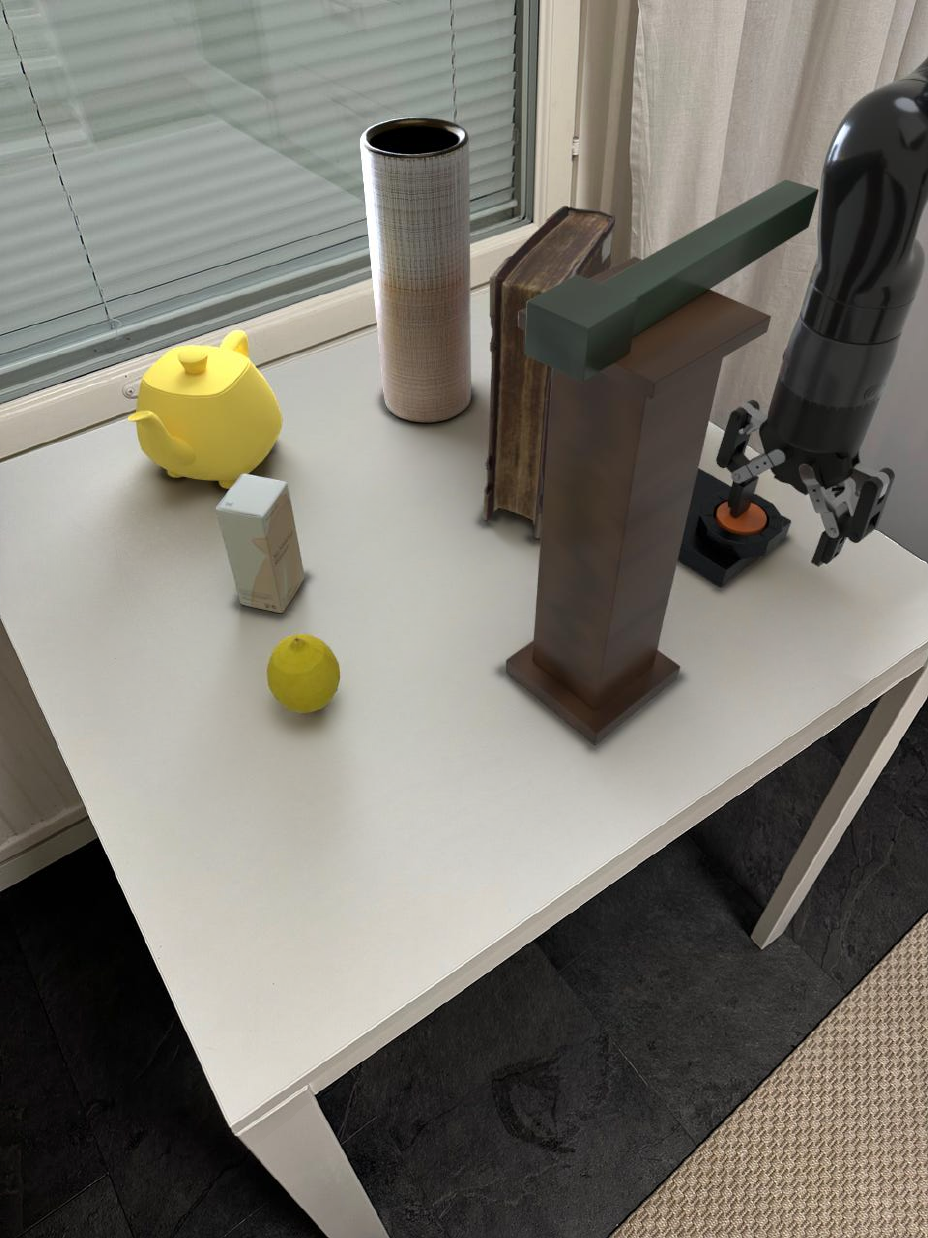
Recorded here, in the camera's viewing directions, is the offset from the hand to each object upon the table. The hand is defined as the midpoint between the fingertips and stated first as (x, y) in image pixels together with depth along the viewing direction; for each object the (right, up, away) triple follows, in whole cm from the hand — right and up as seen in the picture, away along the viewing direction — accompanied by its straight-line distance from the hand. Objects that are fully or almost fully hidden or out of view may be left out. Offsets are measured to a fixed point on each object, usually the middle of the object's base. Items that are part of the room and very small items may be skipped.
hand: (778, 536), depth 79 cm
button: (-3, +1, +3) cm, 4 cm away
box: (-45, -5, +2) cm, 45 cm away
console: (-5, +1, +7) cm, 8 cm away
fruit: (-40, -14, -7) cm, 43 cm away
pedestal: (-17, -12, -5) cm, 22 cm away
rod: (-15, +12, -27) cm, 33 cm away
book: (-19, +6, +12) cm, 24 cm away
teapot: (-54, +9, +15) cm, 57 cm away
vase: (-32, +18, +23) cm, 43 cm away
